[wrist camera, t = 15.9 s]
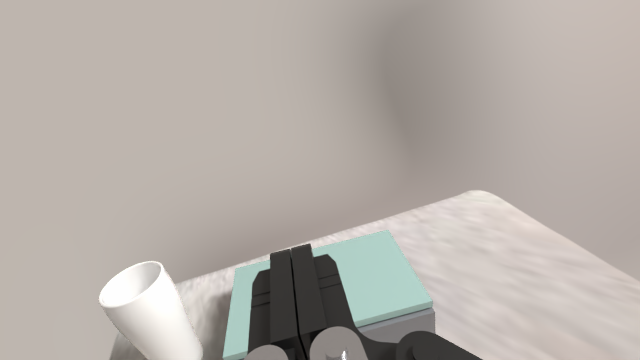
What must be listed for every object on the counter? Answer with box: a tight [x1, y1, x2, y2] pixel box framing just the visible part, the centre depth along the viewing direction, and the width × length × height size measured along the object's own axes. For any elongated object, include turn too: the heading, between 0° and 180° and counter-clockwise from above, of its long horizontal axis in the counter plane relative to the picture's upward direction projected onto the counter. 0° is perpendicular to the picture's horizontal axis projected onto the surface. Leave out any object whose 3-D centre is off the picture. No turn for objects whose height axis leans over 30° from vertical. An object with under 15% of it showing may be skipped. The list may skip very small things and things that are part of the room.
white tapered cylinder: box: [99, 261, 203, 360], centre depth 36 cm, size 7×7×15 cm
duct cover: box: [223, 230, 433, 360], centre depth 39 cm, size 24×14×1 cm, turn 99°
